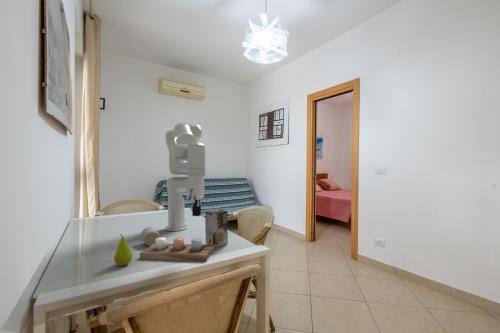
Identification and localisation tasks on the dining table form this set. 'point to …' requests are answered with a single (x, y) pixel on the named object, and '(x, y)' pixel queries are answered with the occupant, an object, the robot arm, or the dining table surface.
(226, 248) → the dining table surface
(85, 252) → the dining table surface
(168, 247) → the walnut board
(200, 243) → the blue egg
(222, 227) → the coffee box
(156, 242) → the white egg
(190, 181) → the robot arm
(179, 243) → the salmon domed cylinder
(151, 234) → the ceramic mug
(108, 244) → the dining table surface
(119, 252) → the fruit
